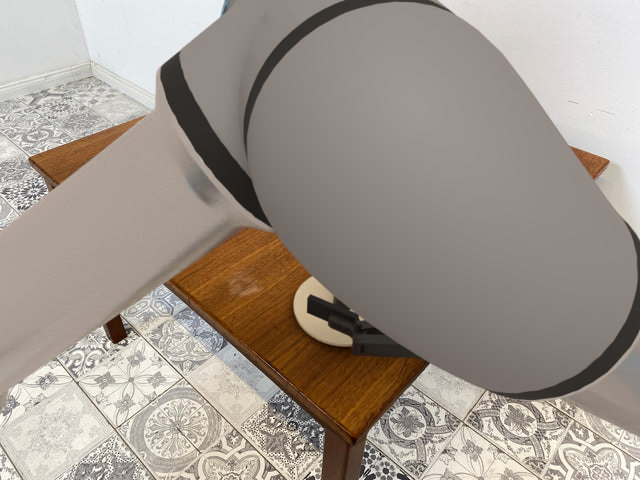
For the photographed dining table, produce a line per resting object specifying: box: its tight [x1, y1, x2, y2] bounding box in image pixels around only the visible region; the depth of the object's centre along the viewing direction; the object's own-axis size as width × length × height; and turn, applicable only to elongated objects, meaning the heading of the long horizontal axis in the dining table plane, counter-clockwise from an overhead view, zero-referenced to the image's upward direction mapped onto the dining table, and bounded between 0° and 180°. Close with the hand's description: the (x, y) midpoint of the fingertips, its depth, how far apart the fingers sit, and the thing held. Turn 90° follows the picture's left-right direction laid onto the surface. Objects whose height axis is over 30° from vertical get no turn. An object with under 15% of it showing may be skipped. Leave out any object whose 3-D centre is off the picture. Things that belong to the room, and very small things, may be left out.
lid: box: [293, 275, 364, 348], centre depth 67 cm, size 14×14×10 cm
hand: (333, 269), depth 66 cm, fingers open, 13 cm apart
